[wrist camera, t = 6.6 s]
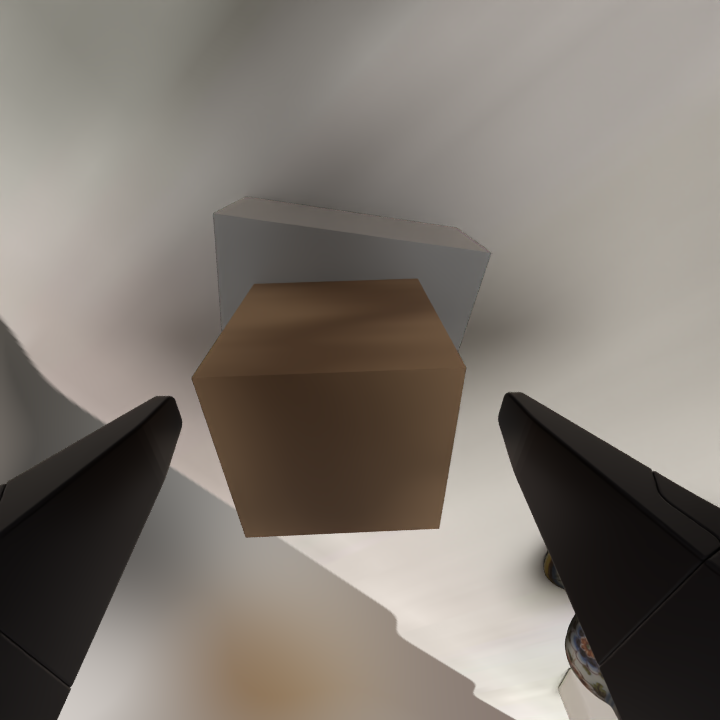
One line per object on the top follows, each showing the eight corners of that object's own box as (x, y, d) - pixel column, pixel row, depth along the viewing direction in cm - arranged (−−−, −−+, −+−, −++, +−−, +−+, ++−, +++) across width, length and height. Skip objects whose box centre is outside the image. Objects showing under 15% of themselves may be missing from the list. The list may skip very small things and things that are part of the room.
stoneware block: (454, 226, 14) (491, 252, 10) (410, 388, 18) (426, 445, 14) (247, 195, 13) (212, 213, 9) (252, 373, 17) (229, 430, 14)
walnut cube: (417, 278, 11) (466, 367, 6) (409, 405, 13) (439, 528, 9) (253, 283, 10) (191, 377, 6) (278, 410, 13) (245, 537, 9)
